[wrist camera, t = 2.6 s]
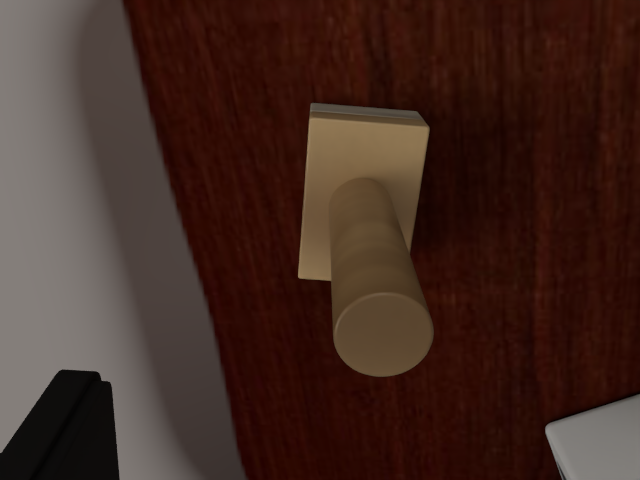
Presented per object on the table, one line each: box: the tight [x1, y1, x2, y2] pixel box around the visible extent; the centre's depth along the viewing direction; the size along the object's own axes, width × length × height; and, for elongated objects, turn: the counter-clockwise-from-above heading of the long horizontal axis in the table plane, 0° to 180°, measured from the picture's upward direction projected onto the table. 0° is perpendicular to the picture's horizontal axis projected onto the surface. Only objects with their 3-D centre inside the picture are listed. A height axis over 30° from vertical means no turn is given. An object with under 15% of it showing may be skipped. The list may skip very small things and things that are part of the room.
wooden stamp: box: [298, 103, 434, 377], centre depth 17 cm, size 6×4×11 cm, turn 176°
